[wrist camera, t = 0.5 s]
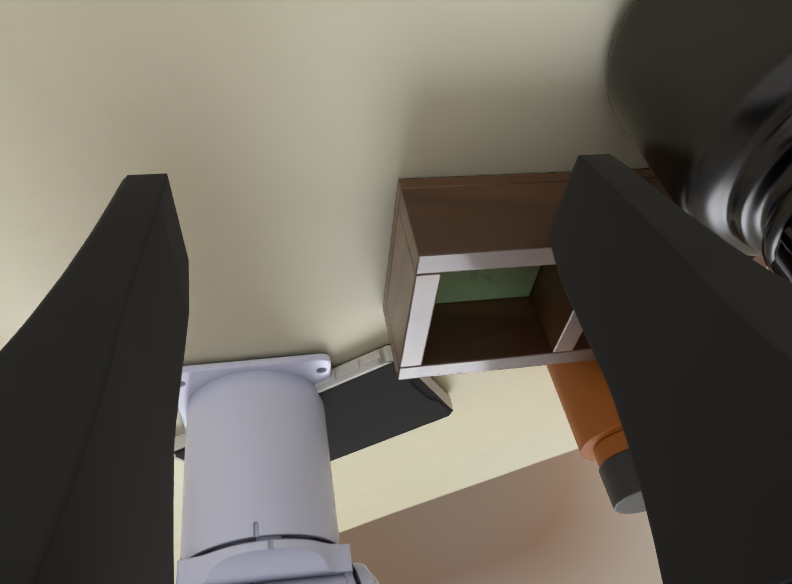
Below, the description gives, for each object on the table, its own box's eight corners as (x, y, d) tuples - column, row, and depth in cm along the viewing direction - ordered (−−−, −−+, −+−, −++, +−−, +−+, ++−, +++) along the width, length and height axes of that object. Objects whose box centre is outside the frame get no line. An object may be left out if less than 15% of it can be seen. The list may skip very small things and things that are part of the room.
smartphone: (164, 454, 35) (396, 356, 31) (166, 434, 36) (393, 337, 32) (252, 492, 41) (457, 414, 37) (252, 475, 42) (452, 397, 38)
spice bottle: (600, 355, 37) (672, 511, 31) (531, 362, 36) (591, 523, 30) (628, 309, 34) (714, 474, 28) (552, 315, 33) (624, 486, 27)
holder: (663, 285, 33) (701, 350, 30) (382, 308, 30) (397, 380, 27) (741, 163, 27) (796, 231, 24) (398, 178, 24) (418, 255, 21)
